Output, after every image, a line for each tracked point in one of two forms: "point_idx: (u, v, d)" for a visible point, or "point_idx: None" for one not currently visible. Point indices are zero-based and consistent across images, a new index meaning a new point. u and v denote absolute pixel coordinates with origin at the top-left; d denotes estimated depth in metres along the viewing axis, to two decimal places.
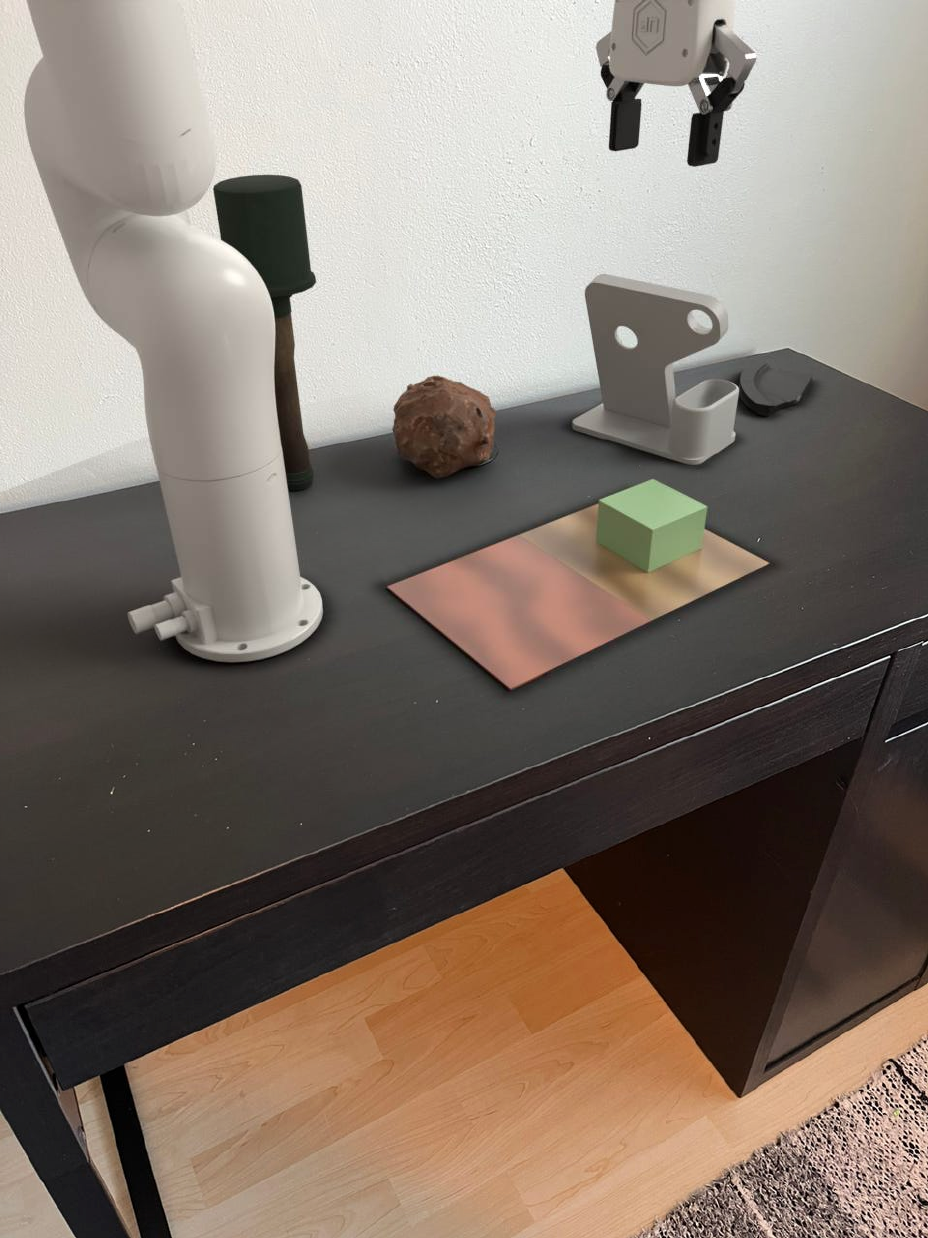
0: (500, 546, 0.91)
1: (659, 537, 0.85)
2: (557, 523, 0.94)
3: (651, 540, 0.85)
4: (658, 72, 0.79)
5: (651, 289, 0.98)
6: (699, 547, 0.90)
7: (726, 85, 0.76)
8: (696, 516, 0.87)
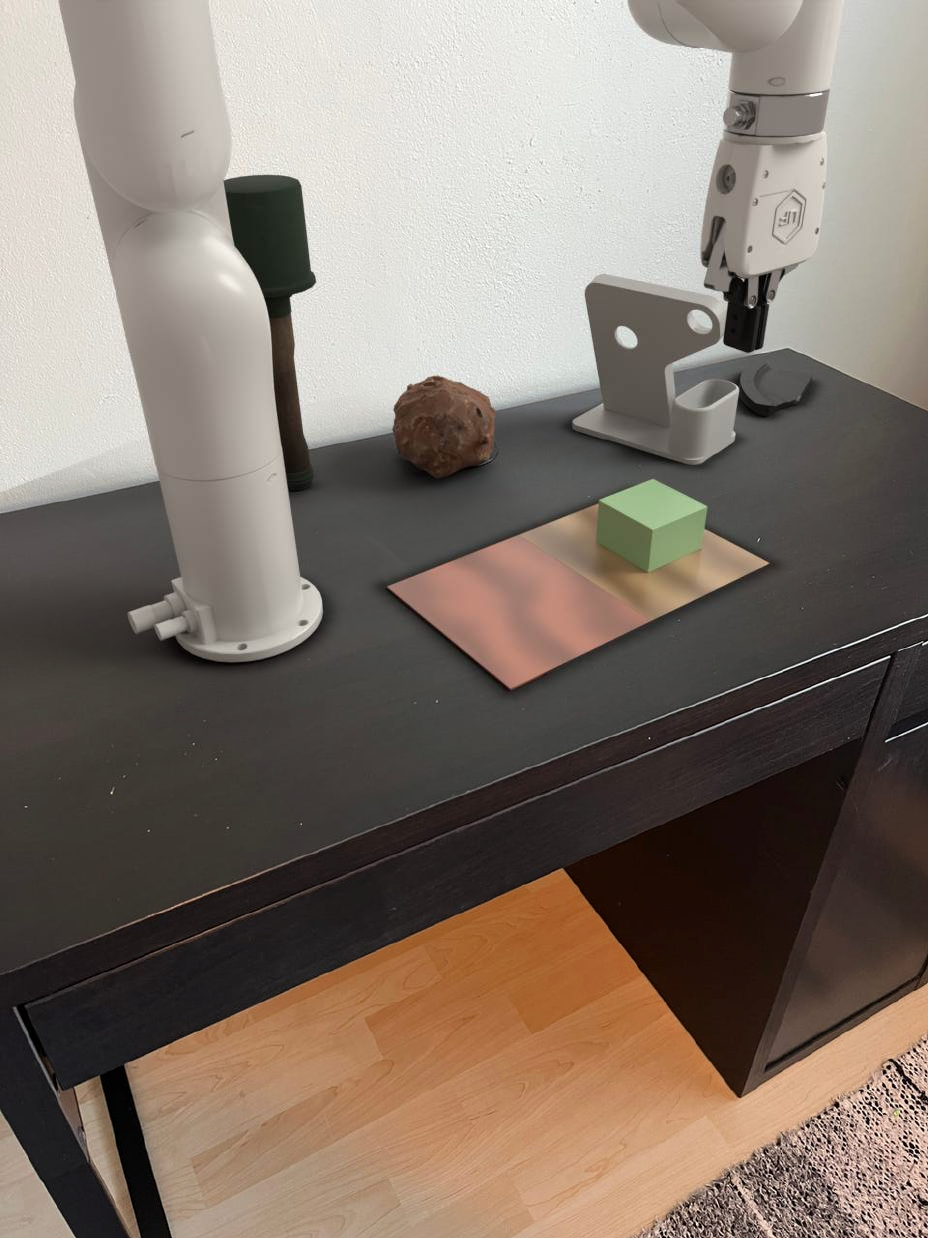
0: (500, 546, 0.91)
1: (659, 537, 0.85)
2: (557, 523, 0.94)
3: (651, 540, 0.85)
4: (794, 256, 0.79)
5: (651, 289, 0.98)
6: (699, 547, 0.90)
7: (784, 271, 0.82)
8: (696, 516, 0.87)
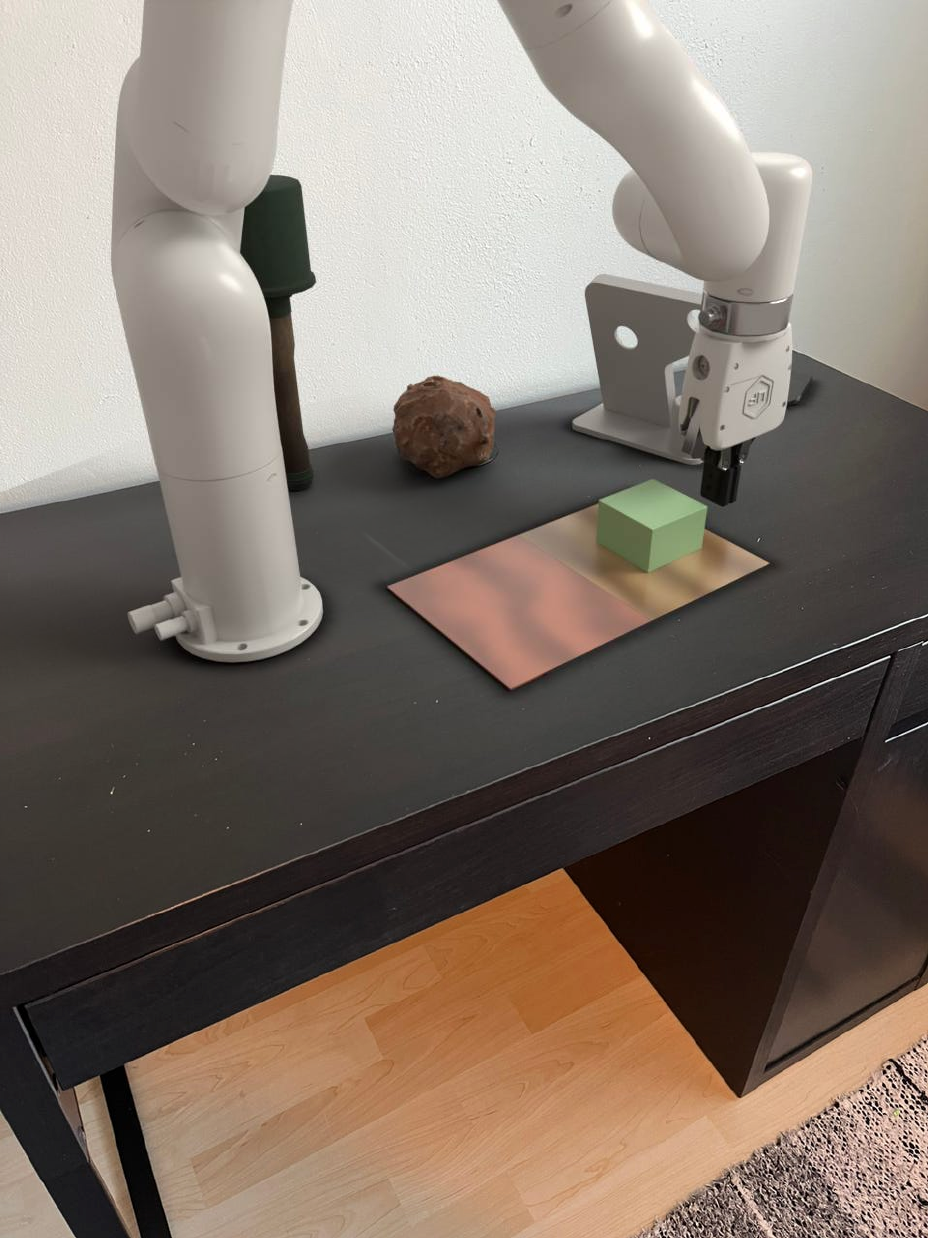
0: (500, 546, 0.91)
1: (659, 537, 0.85)
2: (557, 523, 0.94)
3: (651, 540, 0.85)
4: (763, 427, 0.88)
5: (651, 289, 0.98)
6: (699, 547, 0.90)
7: None
8: (696, 516, 0.87)
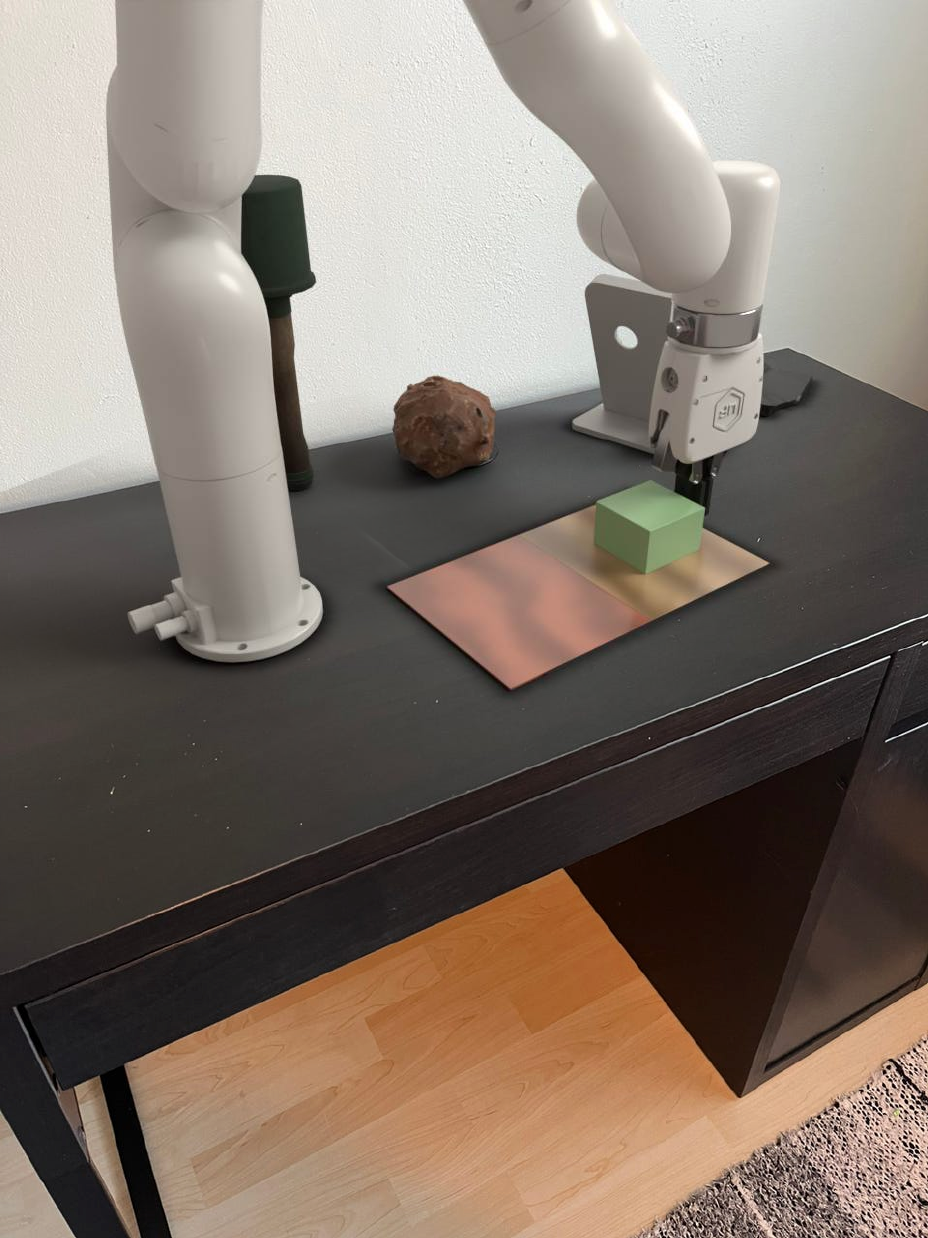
0: (500, 546, 0.91)
1: (656, 538, 0.85)
2: (557, 523, 0.94)
3: (649, 541, 0.85)
4: (735, 440, 0.86)
5: (651, 289, 0.98)
6: (697, 548, 0.89)
7: None
8: (693, 517, 0.87)
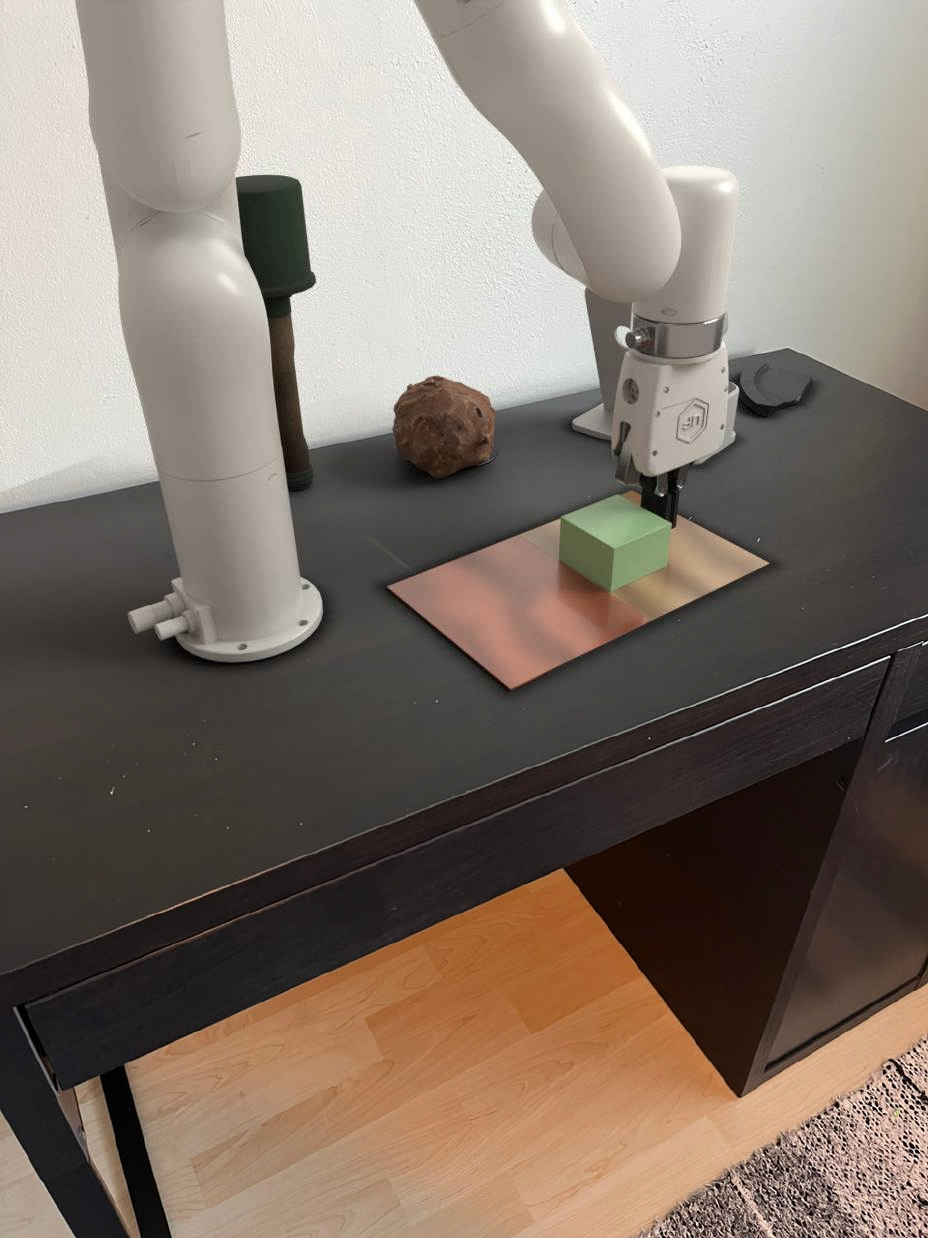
0: (500, 546, 0.91)
1: (621, 555, 0.83)
2: (557, 523, 0.94)
3: (613, 559, 0.82)
4: (700, 452, 0.84)
5: None
6: (664, 565, 0.87)
7: None
8: (660, 534, 0.85)
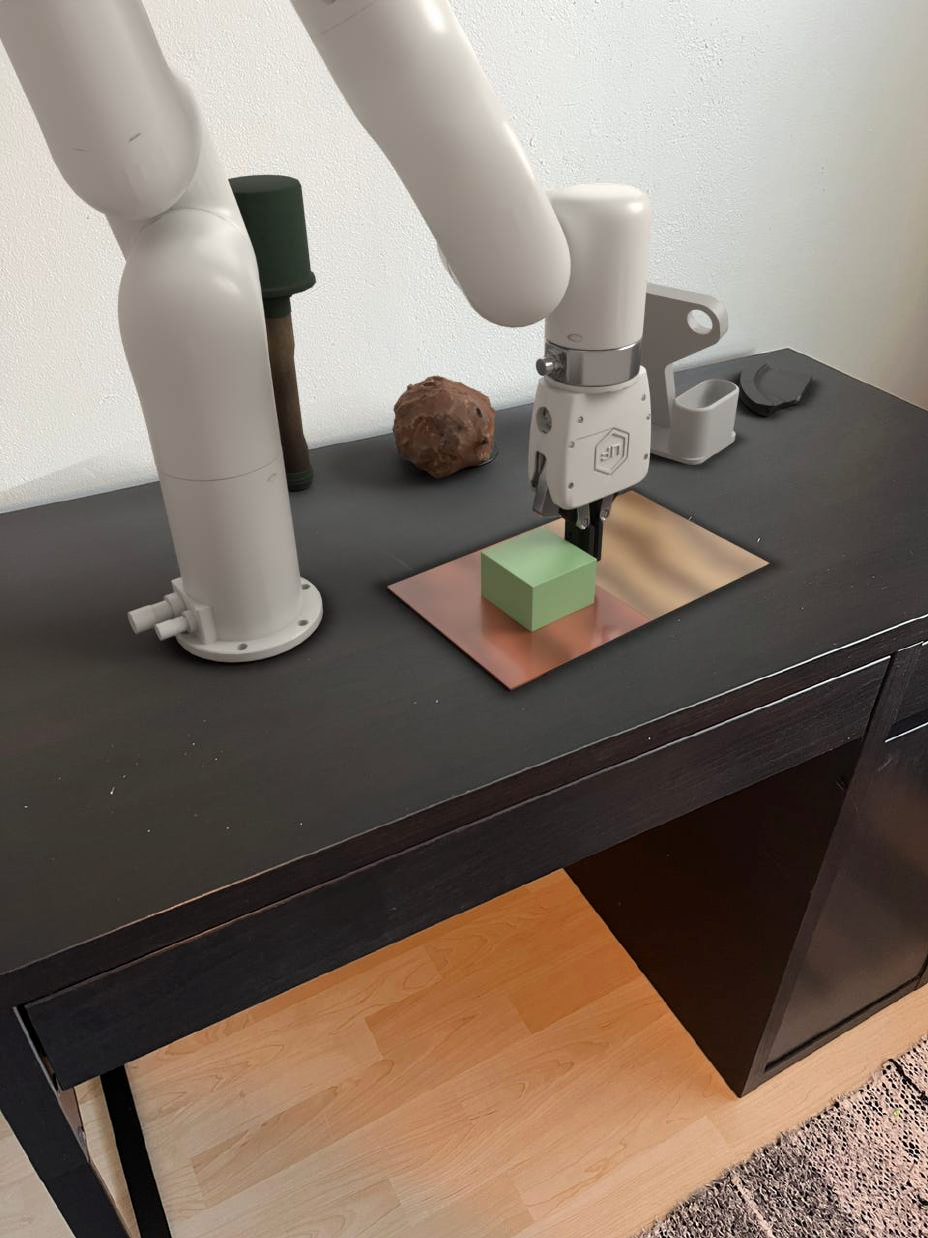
0: None
1: (541, 594, 0.78)
2: (557, 523, 0.94)
3: (532, 598, 0.78)
4: (622, 483, 0.80)
5: (651, 289, 0.98)
6: (591, 602, 0.83)
7: None
8: (584, 570, 0.80)
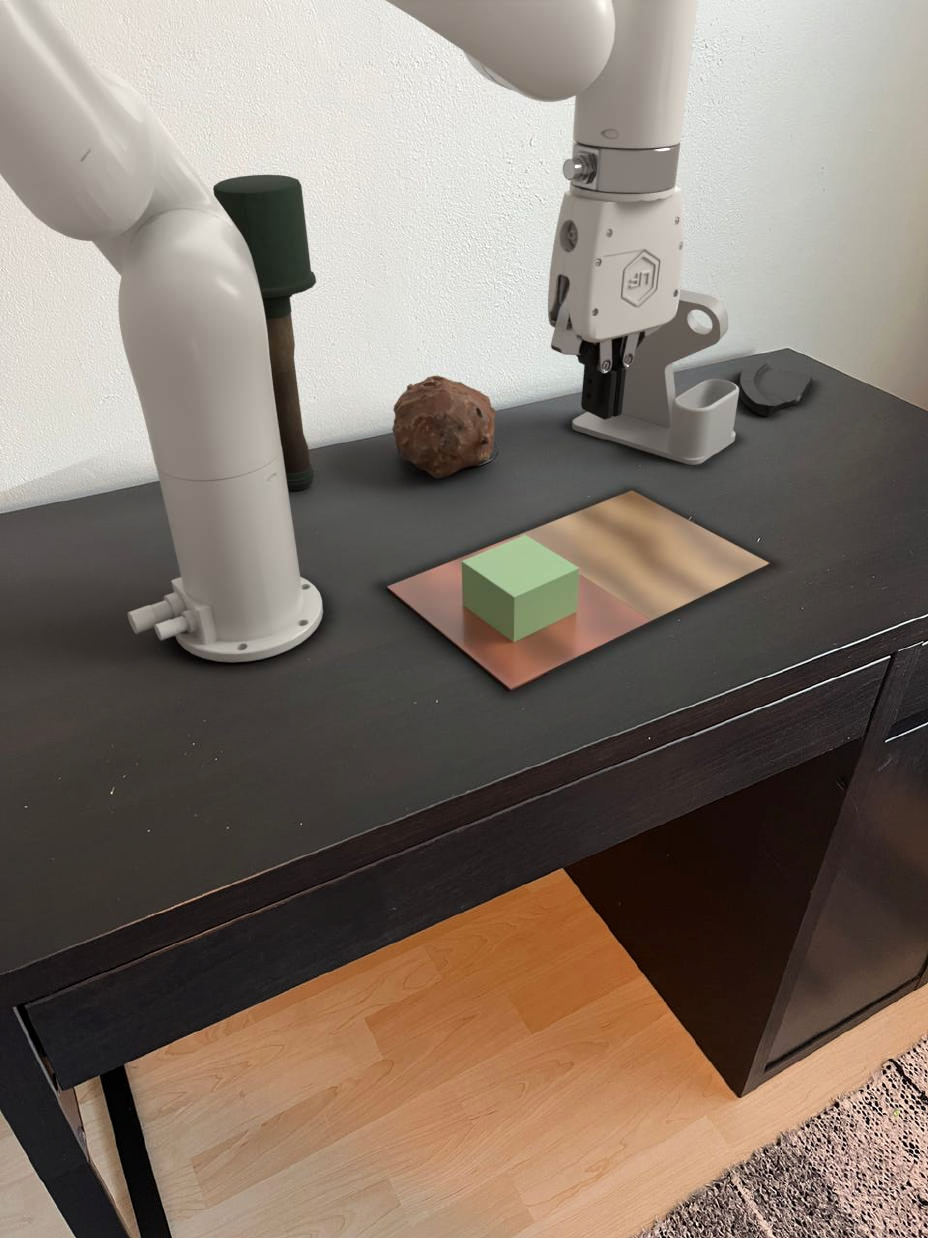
0: None
1: (523, 604, 0.77)
2: (557, 523, 0.94)
3: (514, 608, 0.77)
4: (650, 320, 0.73)
5: None
6: (574, 611, 0.82)
7: (643, 334, 0.76)
8: (566, 579, 0.79)
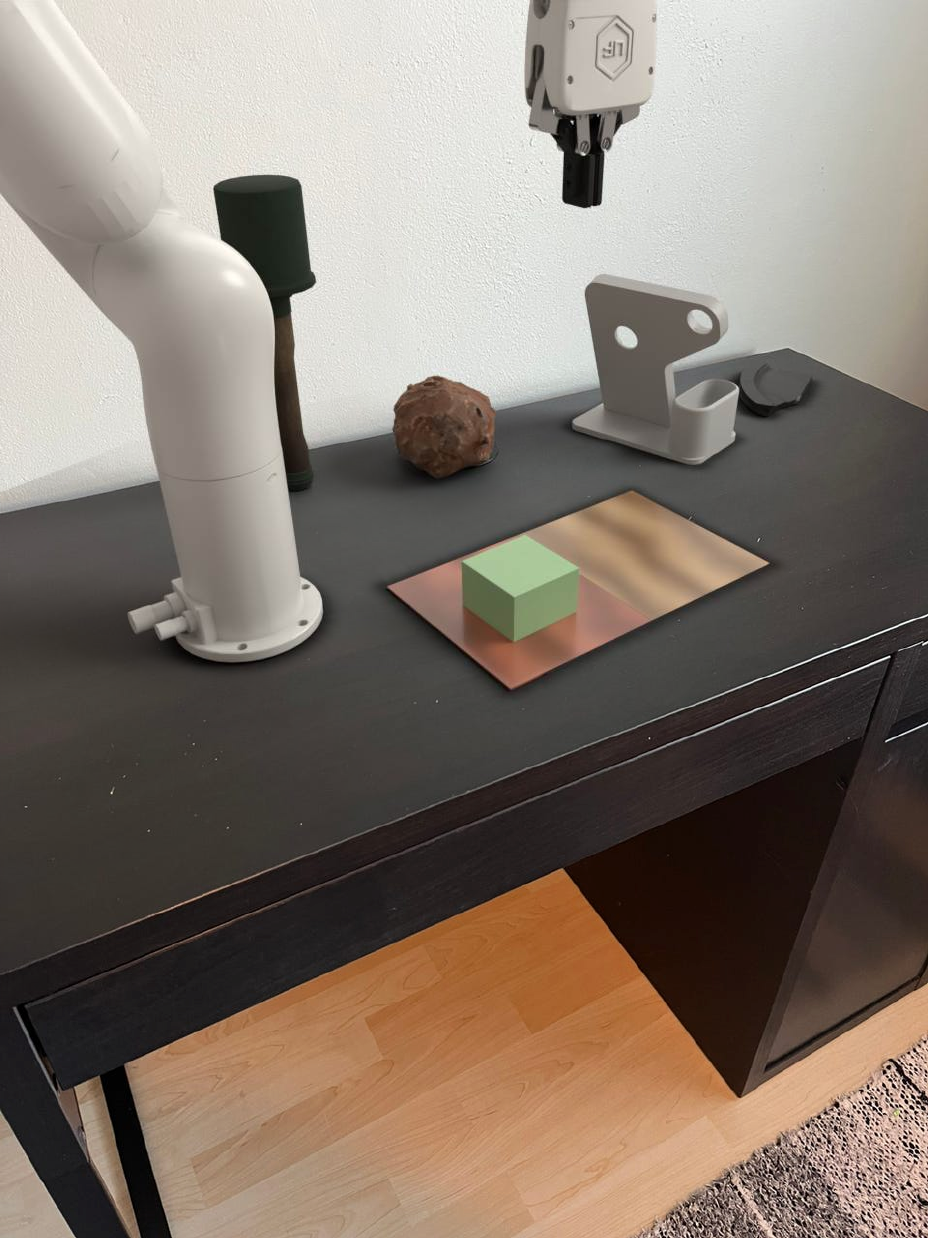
0: None
1: (523, 604, 0.77)
2: (557, 523, 0.94)
3: (514, 608, 0.77)
4: (626, 96, 0.74)
5: (651, 289, 0.98)
6: (574, 611, 0.82)
7: (621, 118, 0.77)
8: (566, 579, 0.79)
